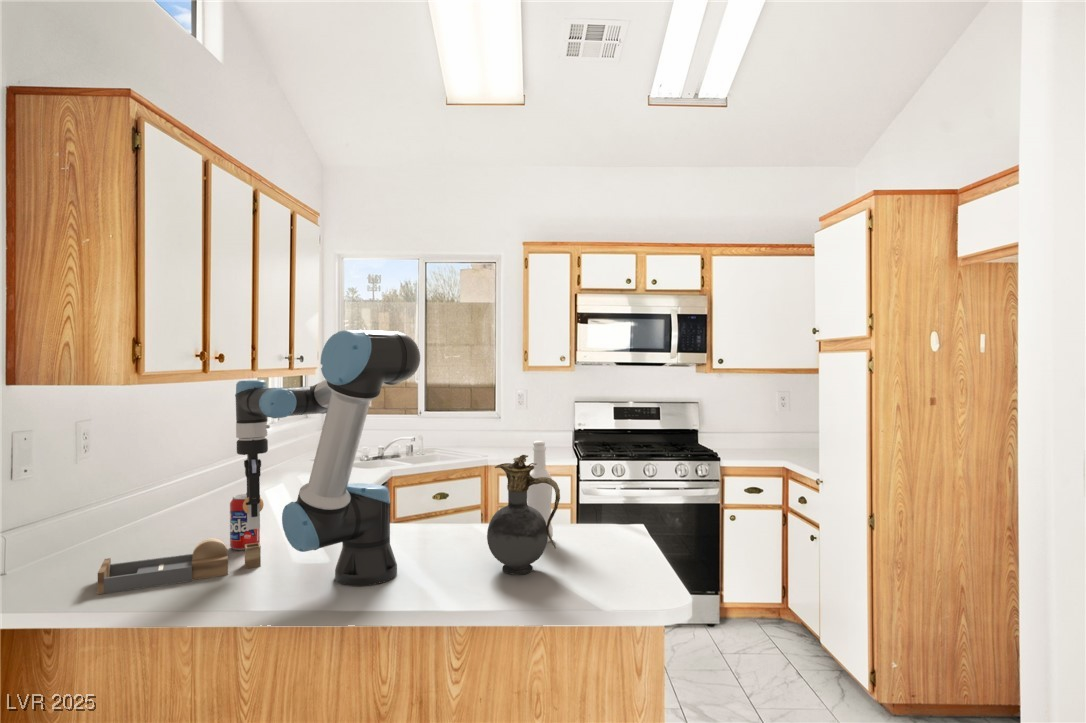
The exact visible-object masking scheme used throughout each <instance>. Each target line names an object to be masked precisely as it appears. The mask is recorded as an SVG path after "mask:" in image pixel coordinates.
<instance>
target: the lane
mask: <svg viewBox="0 0 1086 723" xmlns="http://www.w3.org/2000/svg"><path fill="white" fill-rule="evenodd" d="M192 556H193V553H189V554H188V553H187V554H179V555H173V556H165V557H156V558H149V559H141V560H133V561H126V562H117V563H111V564H110V577H106V578H104V594H103V595H105V594H110V593H111V594H112V593H117V592H124V591H133V590H138V589H145V588H152V587H157V586H158V587H160V586H167V585H173V584H174V585H175V584H180V583H188V582H192V581H193V580H192Z"/></svg>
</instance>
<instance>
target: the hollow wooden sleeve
mask: <svg viewBox="0 0 1086 723" xmlns="http://www.w3.org/2000/svg"><path fill="white" fill-rule="evenodd" d="M261 549H262V548H261V542H260V543H253V544H245V550H244V568H245V569H250V568H257V567H258V568H259V567H261V566H262V565H261V562H262V560H261V558H262V557H261V555H262V554H261V553H262V552H261Z"/></svg>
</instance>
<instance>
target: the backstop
mask: <svg viewBox="0 0 1086 723" xmlns="http://www.w3.org/2000/svg"><path fill="white" fill-rule="evenodd" d="M110 564H112V563H111V557H110V558H104V560H103V562H102V563H101V565H100V567H99V570H98V572H97V595H105V594H104V578H106V577H110Z"/></svg>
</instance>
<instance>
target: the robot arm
mask: <svg viewBox="0 0 1086 723" xmlns="http://www.w3.org/2000/svg"><path fill="white" fill-rule="evenodd" d="M420 363H421V353H420V349H419V346H418V344H417V343H416V341H415V340H414V339H412V337H411V336H409V335H407V334H405V333H402V332H400V331H396V330H395V331H394V330H393V331H392V330H391V331H389V330H388V331H387V330H368V329H367V330H362V329H359V328H356V329H347V330H340V331H337V332H335V333H334V334H332V335H331V336H330V337H329V338H328V340H326V342H325V343H324V346H323V348H322V352H321V355H320V365H321V366H322V367H320V371H321V373H322V376H323V378H324V380H322V381H321V382H318V383H315V384H314V385H310V386H292V387H290V386H289V387H287V386H286V387H268V385H267V382H266V381H265V380H263V379H253V380H252V379H251V380H250V379H249V380H239V381H238V382H236V384H235V395H234V397H235V418H236V422H235V435H236V438H237V439H238V440H236V454H237V455H240V456H246V459H245V460H243V466H244V471H245V472H244V474H245V478H246V493H245V494H246V495H247V498H248V497H249V502H247V503H246V505H248V514H247V525H249V530H251V529H259V528H260V529H261V511H260V498H261V494H260V492H261V491H260V488H261V487H260V485H261V483H260V478H261V474H262V473H261V467H262V460H261V459H260V458H259V456H258V455H259V454H266V453H267V452H268V450H269V448H268V447H269V446H268V445H269V444H268V443H269V441H268V440H269V439H268V438H267V436H268V429H270V428H271V426H270V425H269V424H268V418H272V419H284V418H287V417H293V416H294V417H295V416H303V415H304V416H305V415H315V414H316V415H317V414H322V415H324V414H325V417H324V421H323V425H322V429H321V433H320V437H319V440H318V445H317V448H316V452H315V457H314V460H313V464H312V468H311V471H310V475H309V480H308V482H307V483H305V484H304V485H301V487H300V489H299V493H298V496H297V499H296V500H295V501H291V502H289V503H288V504H285V506H284V507H283V510H282V513H281V514H282V515H281V523H282V529H283V532H284V535H285V537H286V539H287V541H288V543H289V545H291V547H292V548H293V549H295V550H296V551H298V552H301V553H302V552H304V553H305V552H309V551H310V552H311V551H317V550H319V549H322V548H326V547H329V546H332V545H336V544H340V543H342V547H341V550H340V554H339V557H338V560H337V563H336V565H335V570H334V580H335V581H336V582H337V583H339V584H341V585H345V586H350V587H364V586H374V585H378V584H383V583H386V582H389V581H391V580H393V579H394V578H395V577H396V576H397V574H398V563H397V560H396V557H395V554H394V552H393V548H392V545H391V503H392V501H391V498H390V497H391V496H390V495H391V494H390V493H391V492H390V489H389V488H388V487H386V486H385V485H381V484H373V483H363V482H362V483H359V482H358V483H355V482H354V483H352V482H350V483H349V481H350V478H351V474H352V470H353V466H354V463H355V459H356V455H357V452H358V448H359V445H360V440H361V438H362V433H363V429H364V426H365V422H366V419H367V416H368V412H369V407H370V404H371V402H372V401H373V400H375V399H376V398H379V396H380V394H381V390H382V386H384V385H387V386H394V385H397V384H400V383H402V382H404V381H406V380H408V379H411V378H412V377H413V376H414V375H415V373H416V372H417V371H418V368H419V366H420Z"/></svg>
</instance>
